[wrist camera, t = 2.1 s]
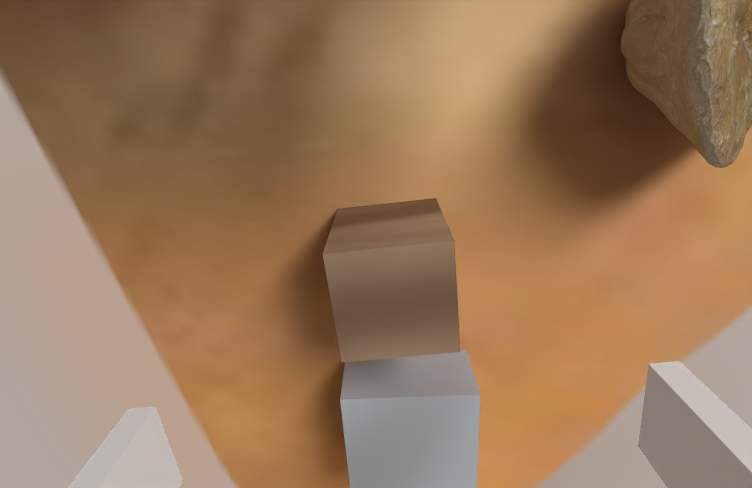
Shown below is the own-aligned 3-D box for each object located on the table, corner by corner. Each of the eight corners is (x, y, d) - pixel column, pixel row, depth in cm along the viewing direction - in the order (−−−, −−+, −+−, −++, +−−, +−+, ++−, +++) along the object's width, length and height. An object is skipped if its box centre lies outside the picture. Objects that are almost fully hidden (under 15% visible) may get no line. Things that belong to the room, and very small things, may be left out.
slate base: (346, 351, 25) (340, 399, 22) (465, 347, 25) (480, 394, 21) (355, 442, 28) (351, 499, 24) (464, 438, 28) (476, 495, 24)
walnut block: (337, 208, 22) (322, 254, 16) (435, 197, 22) (454, 240, 16) (351, 295, 24) (341, 362, 18) (441, 286, 24) (460, 352, 18)
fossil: (732, 210, 16) (732, -108, 11) (606, 203, 19) (559, -44, 14) (782, 88, 20) (800, -188, 15) (671, 99, 23) (653, -123, 18)
